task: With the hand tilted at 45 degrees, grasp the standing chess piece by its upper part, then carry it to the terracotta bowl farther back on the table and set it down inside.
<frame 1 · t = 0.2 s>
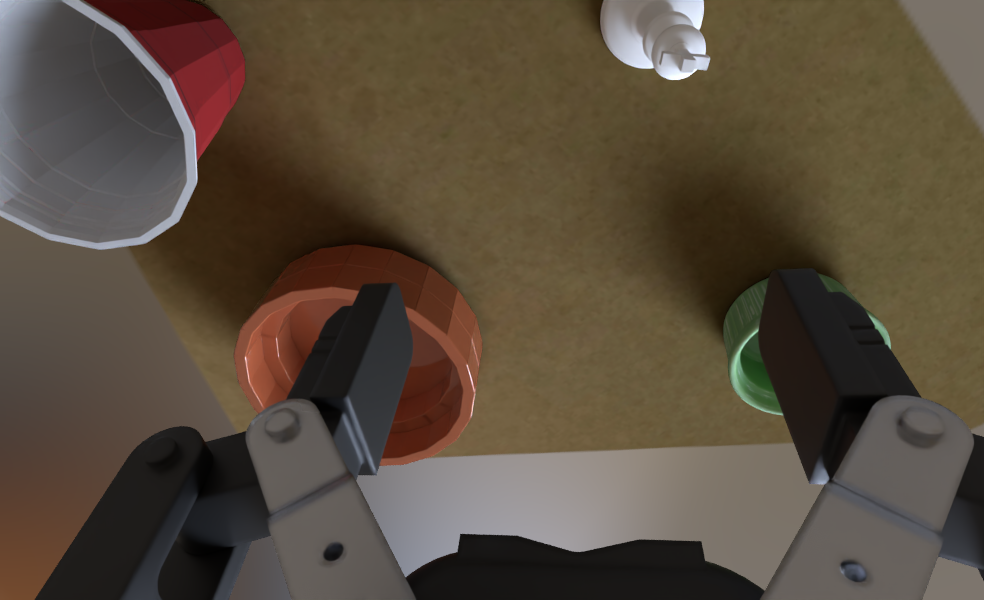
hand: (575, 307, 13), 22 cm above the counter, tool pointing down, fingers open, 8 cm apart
chess piece: (650, 14, 29), on the counter
plastic cup: (200, 55, 32), on the counter
ramekin: (783, 317, 39), on the counter
bowl: (375, 334, 42), on the counter
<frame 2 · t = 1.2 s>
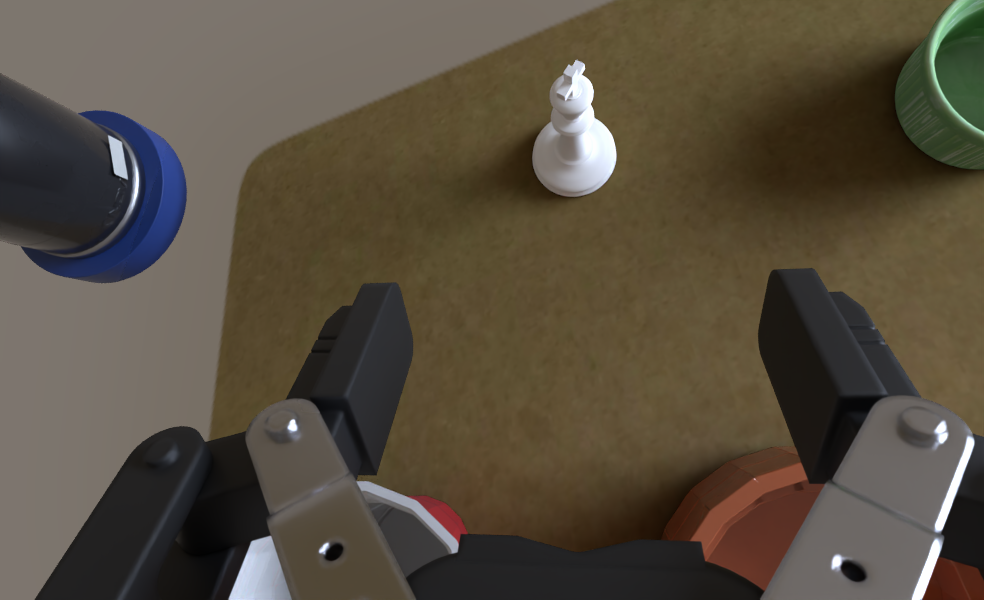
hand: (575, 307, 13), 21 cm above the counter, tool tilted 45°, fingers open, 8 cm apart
chess piece: (573, 158, 35), on the counter
plastic cup: (424, 543, 34), on the counter
ramekin: (969, 103, 32), on the counter
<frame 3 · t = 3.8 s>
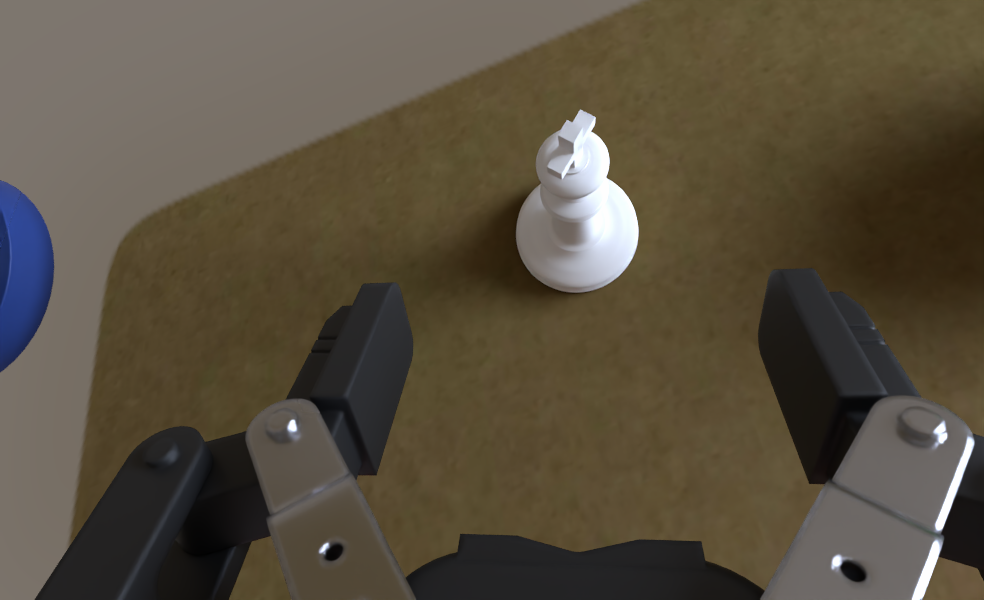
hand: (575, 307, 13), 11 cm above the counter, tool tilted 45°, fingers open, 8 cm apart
chess piece: (576, 234, 24), on the counter
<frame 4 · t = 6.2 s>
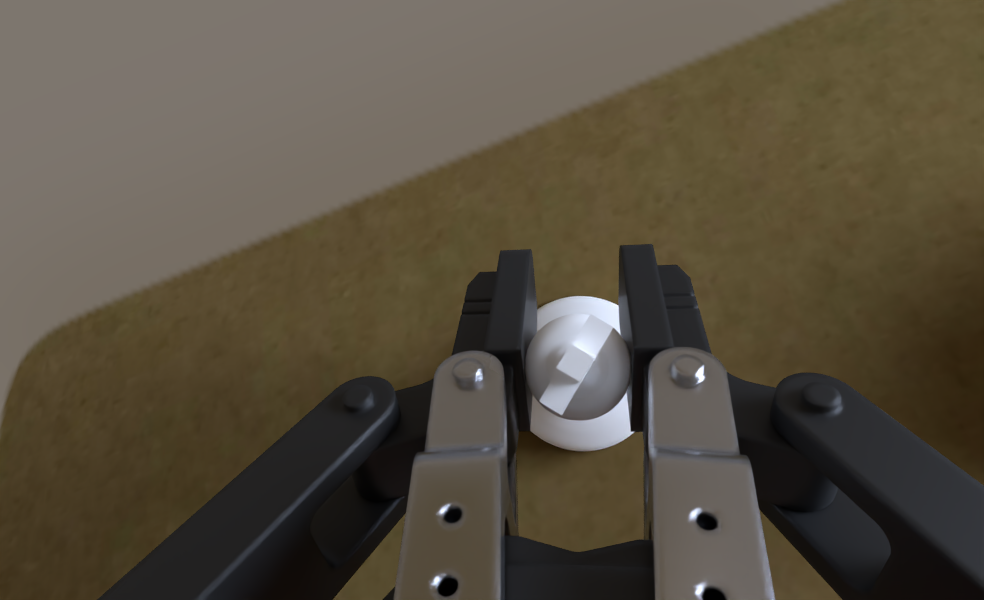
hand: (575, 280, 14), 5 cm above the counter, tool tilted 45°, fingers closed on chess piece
chess piece: (580, 372, 19), on the counter, touching gripper
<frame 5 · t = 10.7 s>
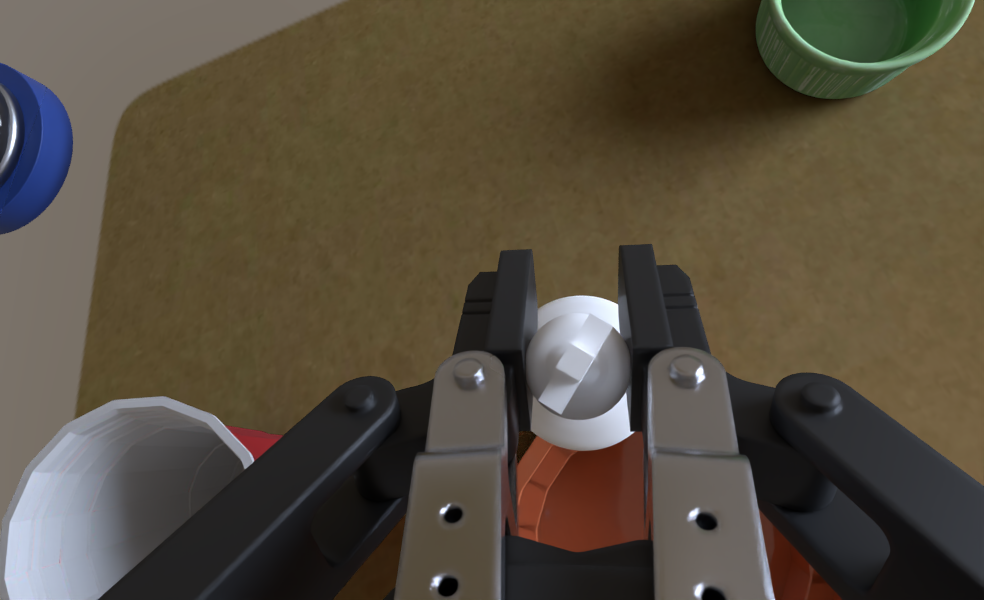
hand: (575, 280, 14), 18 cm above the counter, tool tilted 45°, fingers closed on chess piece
chess piece: (580, 371, 19), point 12 cm above the counter, touching gripper
plastic cup: (287, 484, 33), on the counter
ramekin: (830, 33, 32), on the counter
bowl: (659, 534, 30), on the counter
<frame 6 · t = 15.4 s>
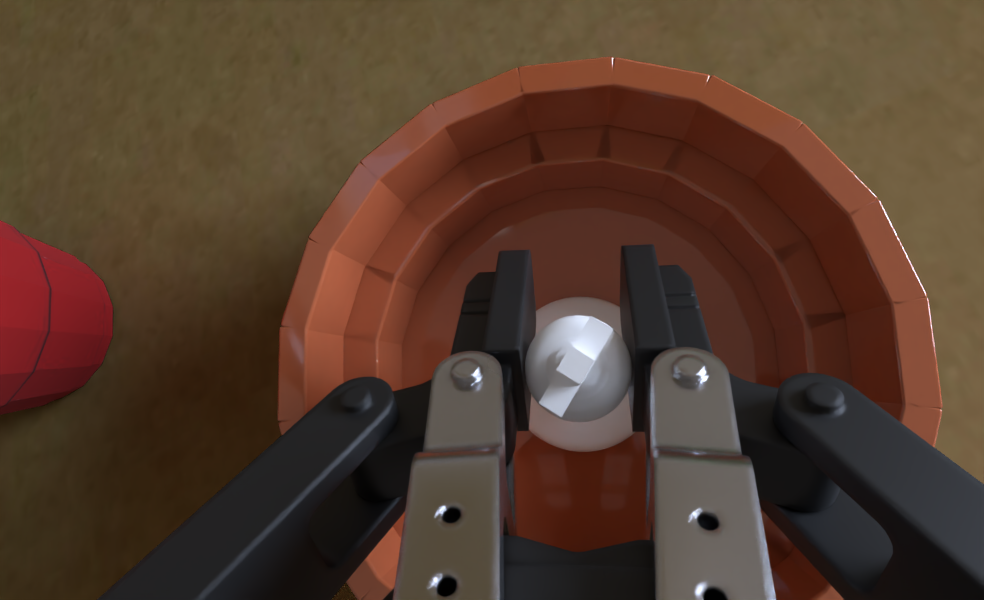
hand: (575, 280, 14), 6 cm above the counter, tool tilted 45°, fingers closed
chess piece: (580, 372, 19), resting on bowl
plastic cup: (57, 323, 23), on the counter
bowl: (581, 367, 19), on the counter
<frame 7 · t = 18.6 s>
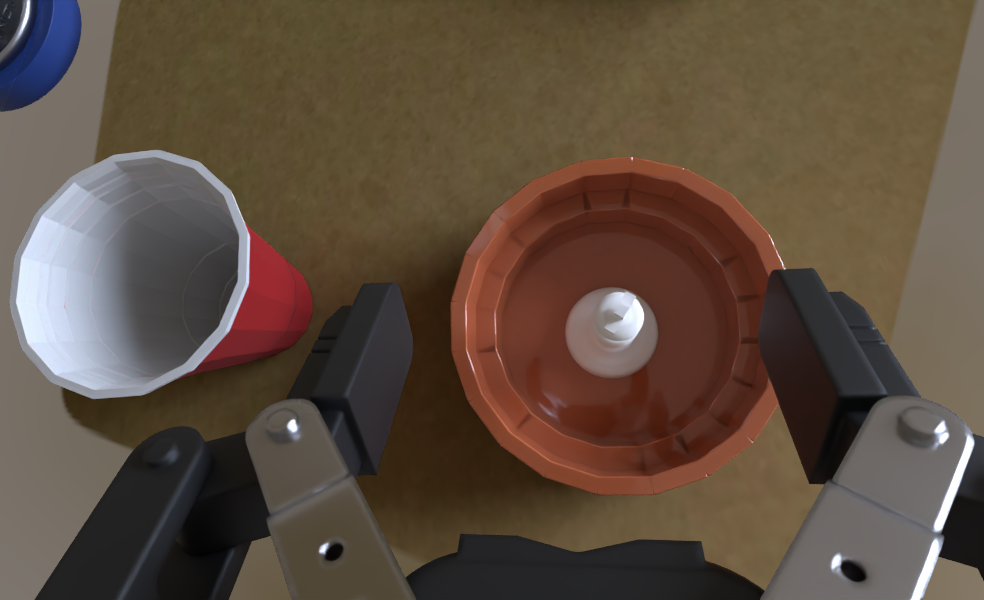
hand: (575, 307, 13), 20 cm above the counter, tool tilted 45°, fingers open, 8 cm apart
chess piece: (611, 332, 32), resting on bowl
plastic cup: (273, 305, 36), on the counter
bowl: (610, 330, 32), on the counter
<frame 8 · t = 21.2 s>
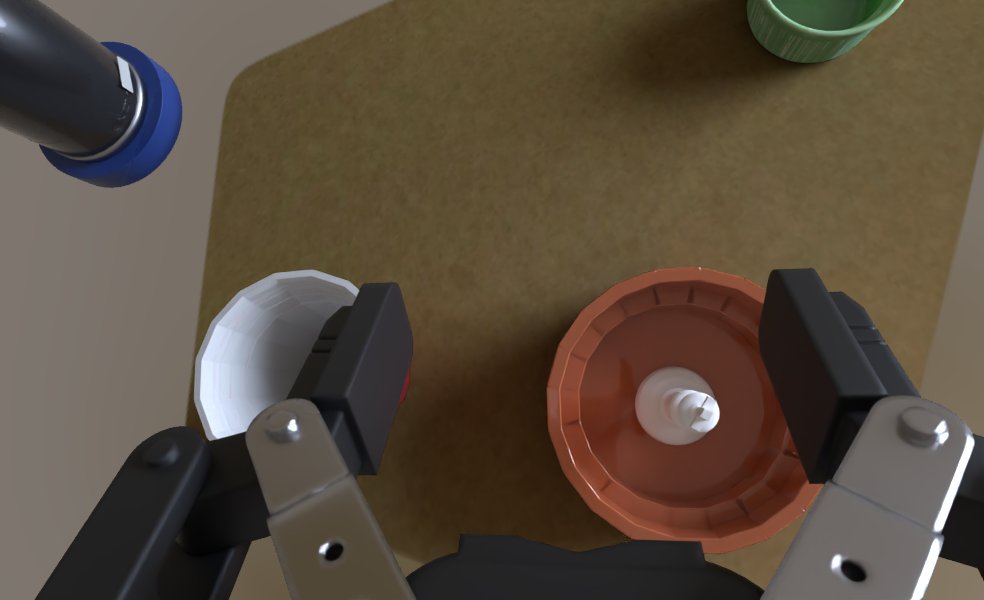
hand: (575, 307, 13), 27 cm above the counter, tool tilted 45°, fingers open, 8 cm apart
chess piece: (674, 405, 37), resting on bowl
plastic cup: (374, 374, 41), on the counter
ramekin: (806, 12, 40), on the counter
bowl: (673, 402, 38), on the counter
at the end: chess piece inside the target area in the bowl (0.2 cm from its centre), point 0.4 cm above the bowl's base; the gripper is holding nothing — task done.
